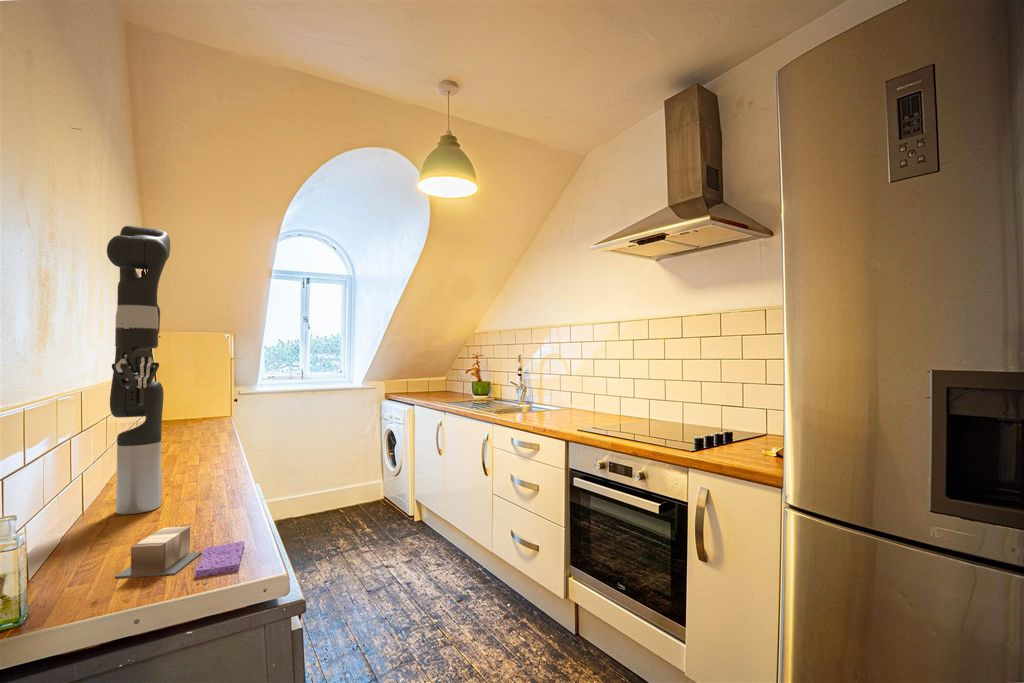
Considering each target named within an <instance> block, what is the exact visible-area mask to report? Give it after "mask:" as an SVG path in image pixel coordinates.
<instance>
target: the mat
mask: <svg viewBox="0 0 1024 683" xmlns="http://www.w3.org/2000/svg"><path fill="white" fill-rule="evenodd" d="M200 555H203V552H202V551H201V552H200V551H199V552H198V551H197V552H189V553H187V554H186V555H185V556H183V557H182V558H181V559H179V560H178V561H177V562H175V563H174V564H173V565H171V566H170V567H169V568H167V569H166V570H165V571H163V572H162V573H159V574H141V575H131V565H130V566H129V567H126V568H125V569H124V570H123V571H121V572H120V573H118V574H116V575H115V576H114V578H115V579H119V578H123V579H125V578H136V577H137V578H138V577H154V576H156V577H157V576H173V575H177V574H178V573H179V572H181V570H183V569H184V568H185V567H187V566H188V565H189V564H191V563H192V562H193V561H194V560H195V559H196V558H198V557H199V556H200ZM191 561H192V562H191Z"/></svg>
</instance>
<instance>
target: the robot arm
mask: <svg viewBox="0 0 1024 683" xmlns="http://www.w3.org/2000/svg"><path fill="white" fill-rule="evenodd" d="M170 253H171V239H170V236H169V234H168V233H167V232H166V231H164V230H161V229H157V228H151V227H150V228H149V227H143V226H135V225H125V226H123V227H122V228H121V230H120V233H119V234H118V235H115V236H113V237H112V238H111V239H110V240H109V242H108V243H107V247H106V256H107V257H108V260H109V261H110V263H112V265H113V266H115V267H117V268H119V282H118V283H117V300H116V301H117V305H116V313H115V330H114V331H115V336H114V337H115V339H114V342H115V343H114V344H115V345H114V346H115V354H114V355H115V357H114V363H112V364H111V369H112V371H113V373H112V379H111V385H110V395H109V409H110V413H111V415H112V417H115V418H119V419H120V418H137V417H138V418H139V417H145V420H144V422H143V423H141V424H140V425H138V426H136V427H133V428H130V429H128V430H125V431H122V432H120V433H118V435H117V438H116V487H115V489H116V492H115V493H116V494H115V495H116V496H115V501H116V502H115V513H116V514H118V515H135V514H140V513H145V512H146V513H147V512H151V511H153V510H156V509H158V508H160V507H161V504H162V495H163V494H162V492H163V491H162V490H163V489H162V486H163V485H162V484H163V481H162V480H163V478H162V477H163V468H162V428H163V408H164V387H163V385H162V383H161V382H160V381H155V380H154V378H155V377H156V374H157V371H158V369H159V367H160V363H159V362H154V360H153V353H152V349H157V348H158V347H159V333H160V325H161V308H160V305H159V304H158V288H159V283H160V278H161V275H162V274H163V273H162V272H163V270H164V268H165V265H166V263H167V261H168V259H169V258H170V255H171V254H170ZM137 270H147V272H146V273H145V274H144V275H142V276H141V277H140V275H139V274H138V272H137Z"/></svg>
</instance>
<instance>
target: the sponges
mask: <svg viewBox="0 0 1024 683" xmlns="http://www.w3.org/2000/svg"><path fill="white" fill-rule="evenodd" d="M244 550H245V540H242V541H241V540H240V541H238V542H237V541H236V542H231V543H227V544H219V545H214V546H213V545H210V546H205V547H204V550H203V552H202V554H201V555H202V556H201V558H200V560H199V562H198V563H197V566H196V569H195V571H194V572H195V574H194V578H195V579H198V578H203V577H202V576H204V577H209V575H210V576H215V575H220V574H227V573H232V572H238V571H240V566H241V562H242V557H243V554H244ZM197 577H198V578H197Z"/></svg>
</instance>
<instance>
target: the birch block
mask: <svg viewBox="0 0 1024 683" xmlns="http://www.w3.org/2000/svg"><path fill="white" fill-rule="evenodd" d="M187 553H191V526H173V527H171V526H169V527H162V528H161V529H159V530H157V531H156V532H154V533H152V534H150V535H149V536H147V537H146V538H144V539H142V540H141V541H138V542H137V543H136V544H135V545H132V546H131V547H130V566H131V575H141V574H159V573H162V572H163V571H165V570H166V569H167V568H169V567H170V566H171V565H173V564H174V563H175V562H177V561H178V560H179V559H181V558H182V557H183V556H185V555H186V554H187Z"/></svg>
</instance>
